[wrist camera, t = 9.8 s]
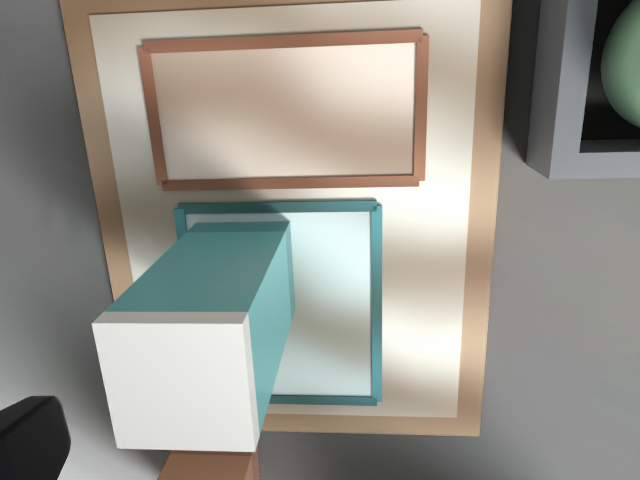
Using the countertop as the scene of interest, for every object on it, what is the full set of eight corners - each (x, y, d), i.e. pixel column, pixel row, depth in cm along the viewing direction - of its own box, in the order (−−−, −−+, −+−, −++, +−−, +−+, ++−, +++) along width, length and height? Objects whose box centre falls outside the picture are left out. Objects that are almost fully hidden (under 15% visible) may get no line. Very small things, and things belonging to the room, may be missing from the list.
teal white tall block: (295, 308, 21) (255, 451, 13) (206, 308, 21) (117, 448, 13) (289, 221, 19) (242, 323, 12) (195, 222, 20) (91, 323, 12)
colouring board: (477, 430, 22) (480, 440, 22) (140, 421, 24) (135, 431, 23) (511, -39, 17) (517, -42, 16) (62, -14, 18) (52, -17, 17)
